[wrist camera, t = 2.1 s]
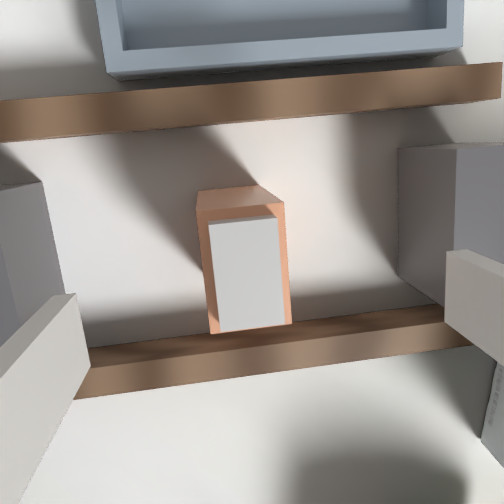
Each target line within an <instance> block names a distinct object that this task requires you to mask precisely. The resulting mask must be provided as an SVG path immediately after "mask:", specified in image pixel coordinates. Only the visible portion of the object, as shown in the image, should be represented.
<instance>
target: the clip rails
mask: <svg viewBox="0 0 504 504" xmlns="http://www.w3.org/2000/svg"><path fill="white" fill-rule="evenodd" d="M502 64H503V62H495V63H482V64H470V65H457V66H444V67H431V68H418V69H405V70H392V71H379V72H366V73H353V74H340V75H327V76H314V77H301V78H288V79H276V80H263V81H250V82H237V83H224V84H211V85H198V86H185V87H172V88H159V89H146V90H133V91H120V92H107V93H94V94H82V95H69V96H56V97H43V98H30V99H17V100H4V101H0V143H7V142H19V141H31V140H42V139H54V138H66V137H78V136H89V135H101V134H113V133H124V132H136V131H148V130H159V129H171V128H183V127H194V126H206V125H218V124H229V123H241V122H253V121H265V120H276V119H288V118H300V117H311V116H323V115H335V114H346V113H358V112H370V111H381V110H393V109H405V108H416V107H428V106H440V105H451V104H463V103H473V102H479V101H485V100H492V99H498V98H501V82H502ZM444 317H445V308H444V307H443V306H441V305H440V304H432V305H424V306H417V307H409V308H401V309H393V310H385V311H377V312H370V313H362V314H354V315H346V316H338V317H330V318H323V319H315V320H307V321H299V322H292V324H287V325H280V326H272V327H264V328H256V329H248V330H240V331H232V332H225V333H217V334H210V333H205V334H197V335H190V336H182V337H174V338H166V339H158V340H150V341H143V342H135V343H127V344H119V345H111V346H104V347H96V348H88V349H87V350H88V355H89V360H90V365H91V366H90V368H89V370H88V372H87V374H86V376H85V378H84V380H83V381H82V383H81V385H80V387H79V389H78V391H77V393H76V395H75V397H74V398H73V400H77V399H84V398H91V397H98V396H106V395H113V394H120V393H127V392H135V391H142V390H149V389H156V388H164V387H171V386H178V385H186V384H193V383H200V382H207V381H215V380H222V379H229V378H236V377H244V376H251V375H258V374H266V373H273V372H280V371H287V370H295V369H302V368H309V367H316V366H324V365H331V364H338V363H345V362H353V361H360V360H367V359H375V358H382V357H389V356H396V355H404V354H411V353H418V352H425V351H433V350H440V349H447V348H455V347H462V346H469V345H475V344H473V343H472V342H471V341H469V340H468V339H467V338H465V337H464V336H463V335H461V334H460V333H459V332H457V331H456V330H455V329H453V328H452V327H451V326H449V325H448V324H447V323H445V322H444Z"/></svg>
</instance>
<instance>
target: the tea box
mask: <svg viewBox="0 0 504 504" xmlns="http://www.w3.org/2000/svg"><path fill="white" fill-rule="evenodd" d="M481 442H482V444H483V445H484V446H485V447H486V448H487V449H488V450H489V451H490V453H491V454H492V455H493V456H494V458H495V459H496V460H497V461H498V462H499V463H500V464H501V465H502V466H503V467H504V366H502V365H501V364H500V363H498V362H497V366H496V369H495V372H494V377H493V383H492V390H491V395H490V400H489V404H488V407H487V411H486V415H485V421H484V426H483V430H482V435H481Z"/></svg>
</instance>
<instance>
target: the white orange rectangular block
mask: <svg viewBox="0 0 504 504" xmlns="http://www.w3.org/2000/svg"><path fill="white" fill-rule="evenodd" d="M196 218H197V226H198V234H199V242H200V251H201V259H202V267H203V276H204V284H205V292H206V300H207V309H208V317H209V325H210V334H217V333H225V332H232V331H240V330H248V329H256V328H264V327H272V326H280V325H287V324H292V316H291V301H290V286H289V272H288V257H287V242H286V228H285V213H284V202H283V201H281V200H280V199H278V198H277V197H276V196H274V195H273V194H271V193H270V192H268V191H267V190H266V189H264V188H263V187H261V186H260V185H251V186H241V187H231V188H221V189H211V190H200V191H198V195H197V204H196Z"/></svg>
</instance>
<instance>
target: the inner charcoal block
mask: <svg viewBox="0 0 504 504" xmlns="http://www.w3.org/2000/svg"><path fill="white" fill-rule="evenodd" d="M63 294H65V289H64V284H63V280H62V275H61V270H60V265H59V260H58V255H57V251H56V246H55V241H54V236H53V231H52V227H51V222H50V217H49V212H48V207H47V202H46V198H45V193H44V188H43V183H42V182H34V183H23V184H12V185H2V186H0V347H1V346H2V345H3V344H4V343H5V342H6V341H7V340H8V339H9V338H10V337H11V336H12V335H13V334H14V333H15V332H16V331H17V330H18V329H19V328H20V327H21V326H22V325H23V324H24V323H25V322H27V321H28V320H29V319H30V318H31V317H32V316H33V315H34V314H35V313H36V312H37V311H38V310H39V309H40V308H41V307H42V306H43V305H44V304H45V303H46V302H47V301H48V300H49V299H50V298H51V297H52V296H55V295H63Z"/></svg>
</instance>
